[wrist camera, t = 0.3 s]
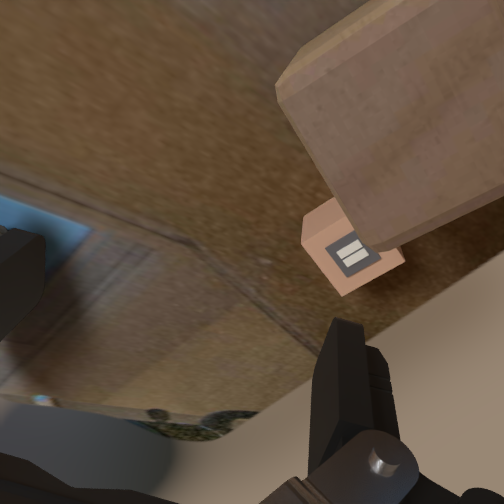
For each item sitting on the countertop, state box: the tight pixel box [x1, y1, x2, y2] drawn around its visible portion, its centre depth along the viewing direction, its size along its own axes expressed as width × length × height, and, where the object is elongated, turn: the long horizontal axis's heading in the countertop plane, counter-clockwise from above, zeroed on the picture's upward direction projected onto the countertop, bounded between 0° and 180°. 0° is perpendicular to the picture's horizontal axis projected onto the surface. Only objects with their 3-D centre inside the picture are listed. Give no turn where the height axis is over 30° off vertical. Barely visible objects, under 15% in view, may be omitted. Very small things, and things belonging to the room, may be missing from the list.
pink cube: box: [301, 197, 405, 296], centre depth 41 cm, size 6×6×6 cm
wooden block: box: [275, 0, 504, 253], centre depth 29 cm, size 10×10×20 cm
